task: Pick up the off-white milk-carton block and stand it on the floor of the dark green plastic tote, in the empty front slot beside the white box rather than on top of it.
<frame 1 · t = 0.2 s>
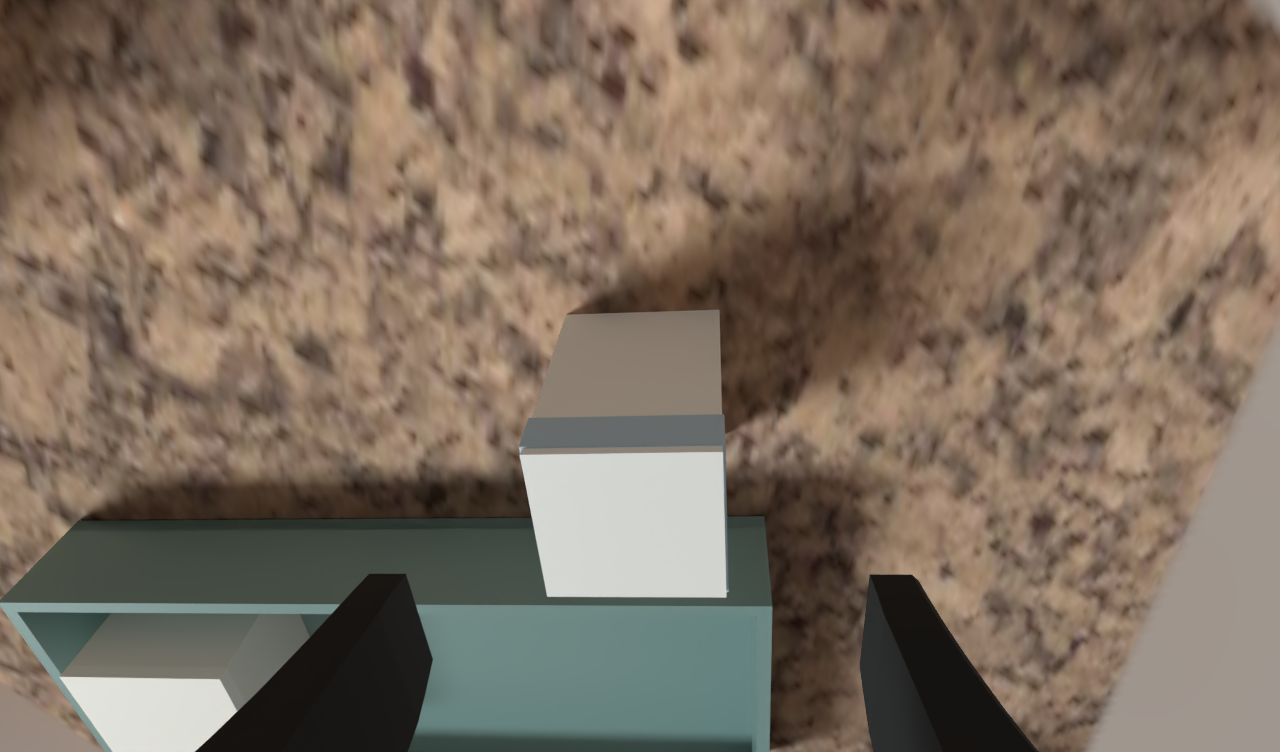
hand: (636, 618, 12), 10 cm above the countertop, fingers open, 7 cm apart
milk carton: (647, 377, 22), on the countertop
white box: (251, 655, 28), resting on tote
tote: (444, 645, 28), on the countertop
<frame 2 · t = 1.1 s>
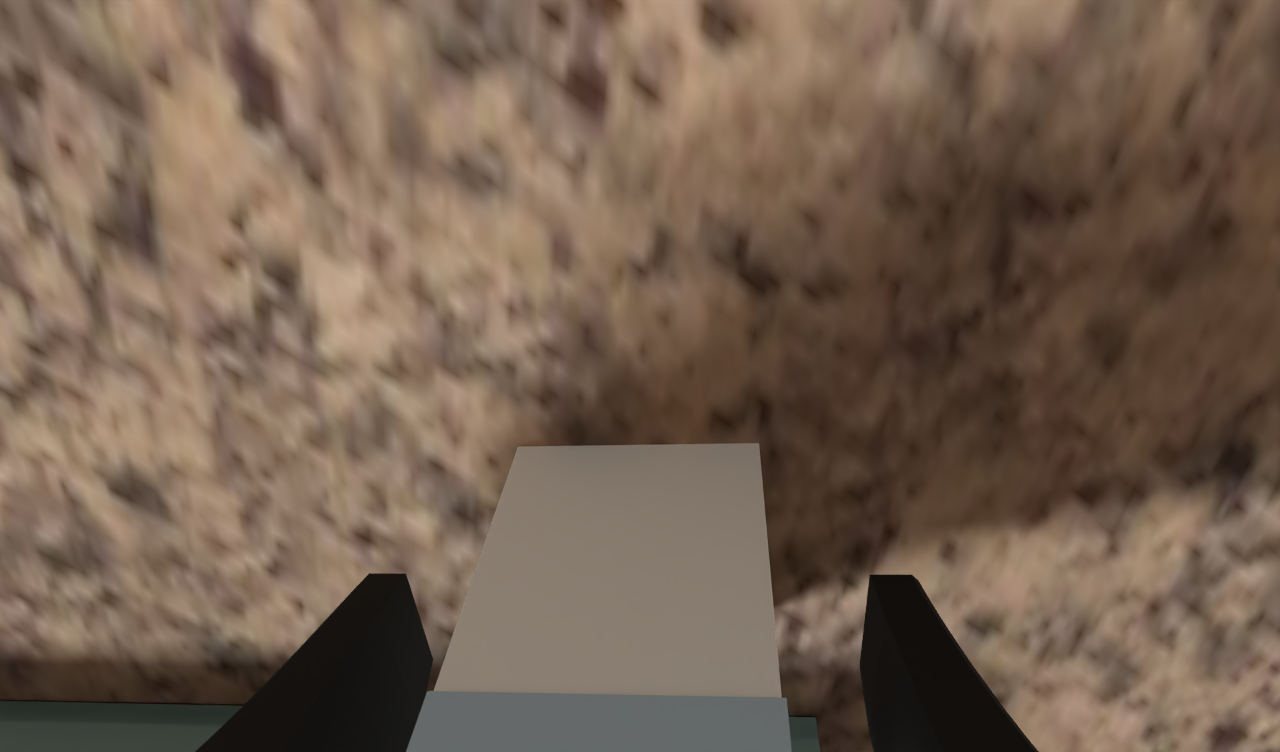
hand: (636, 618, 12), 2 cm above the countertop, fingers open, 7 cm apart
milk carton: (644, 535, 14), on the countertop
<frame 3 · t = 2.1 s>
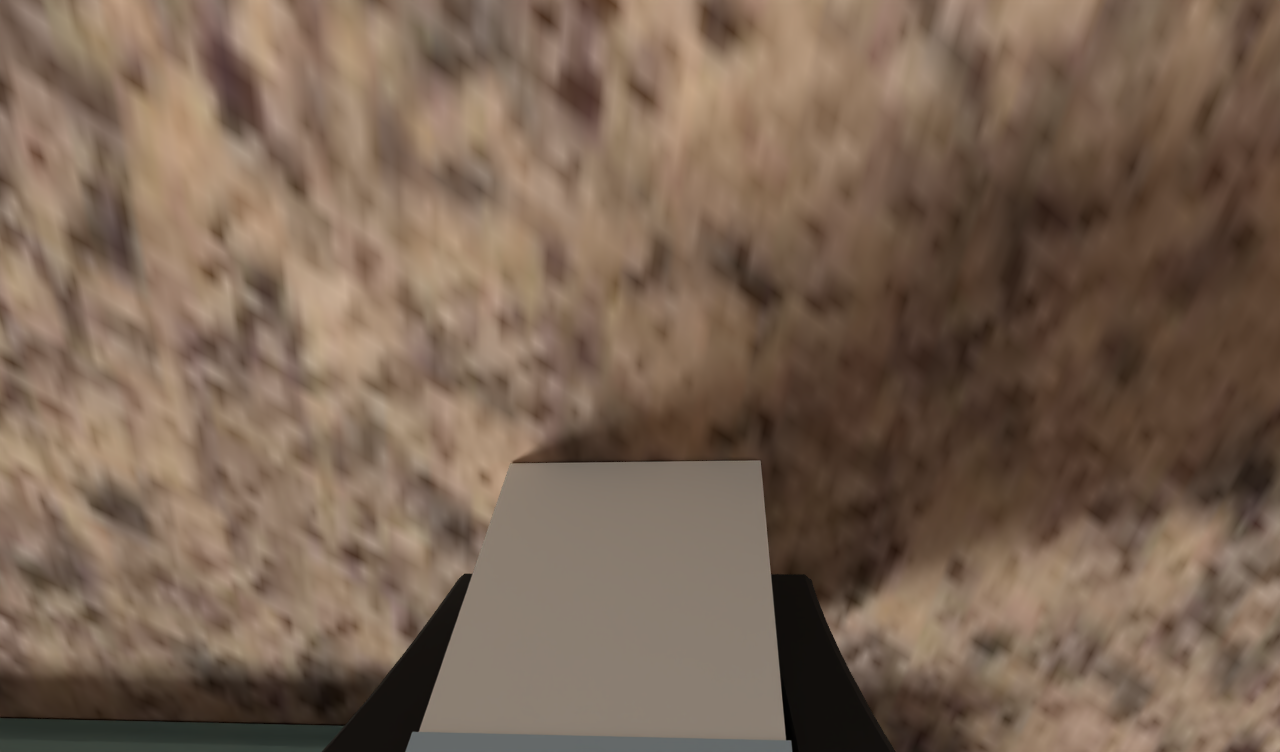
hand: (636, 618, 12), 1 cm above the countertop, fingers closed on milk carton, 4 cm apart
milk carton: (642, 553, 14), on the countertop, touching gripper
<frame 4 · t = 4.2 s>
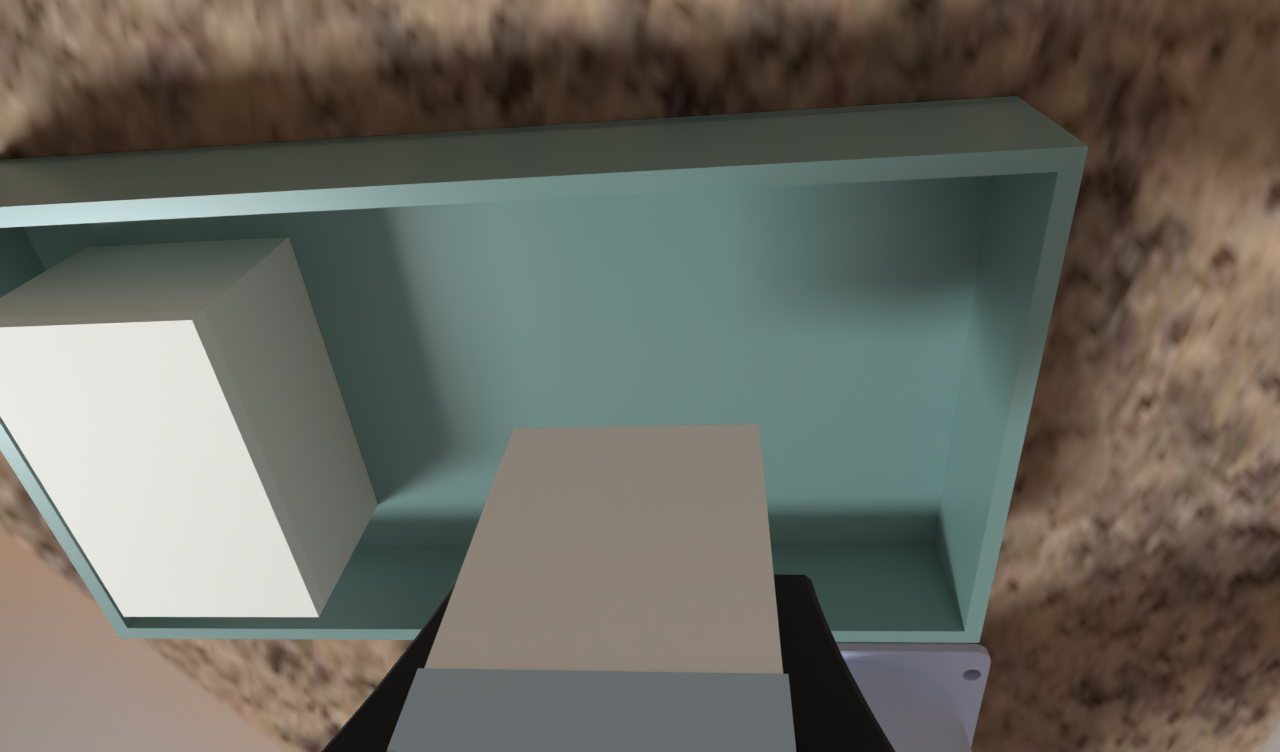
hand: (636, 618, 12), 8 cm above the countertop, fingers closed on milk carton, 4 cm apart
milk carton: (642, 520, 14), point 6 cm above the countertop, touching gripper
white box: (245, 387, 20), resting on tote
tote: (515, 369, 20), on the countertop
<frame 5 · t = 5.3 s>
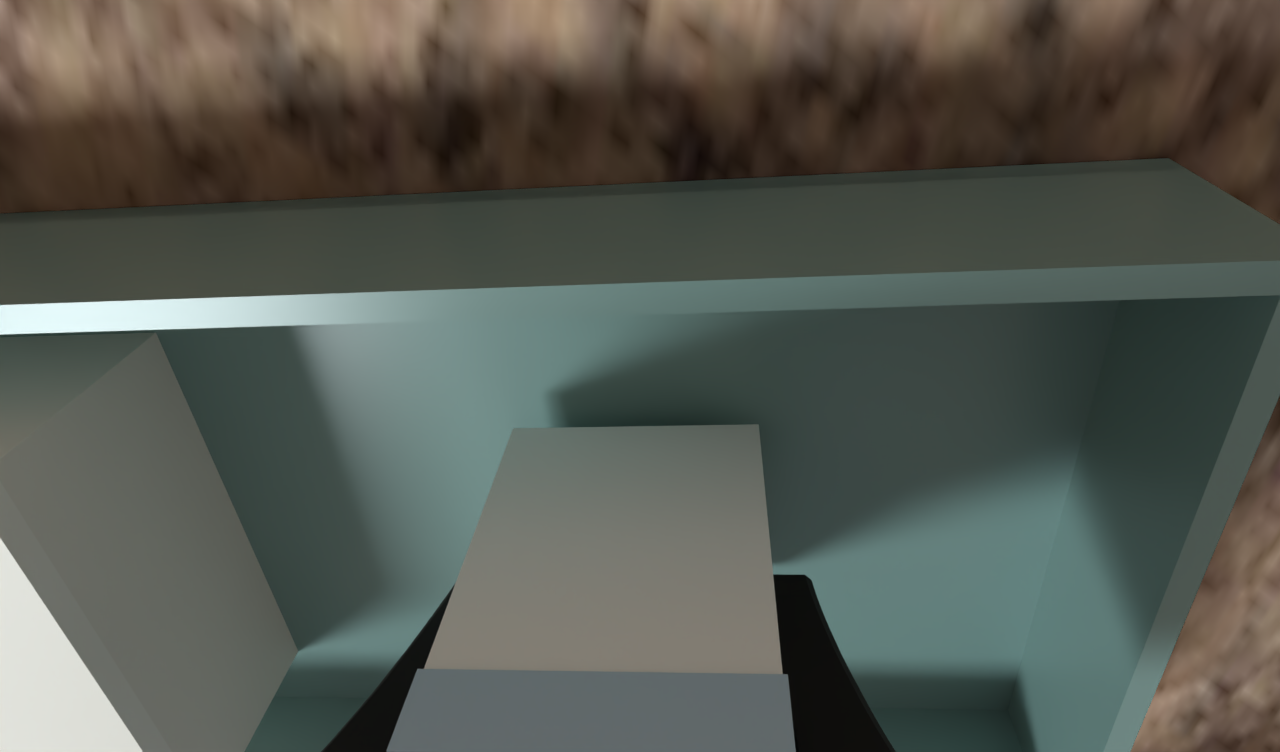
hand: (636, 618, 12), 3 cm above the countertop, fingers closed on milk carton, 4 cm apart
milk carton: (642, 520, 14), point 1 cm above the countertop, touching gripper
white box: (117, 514, 16), resting on tote
tote: (468, 494, 15), on the countertop
when the fingers open (3 cm above the countertop, at t = 6.1 s): milk carton stays where it is, resting on tote.
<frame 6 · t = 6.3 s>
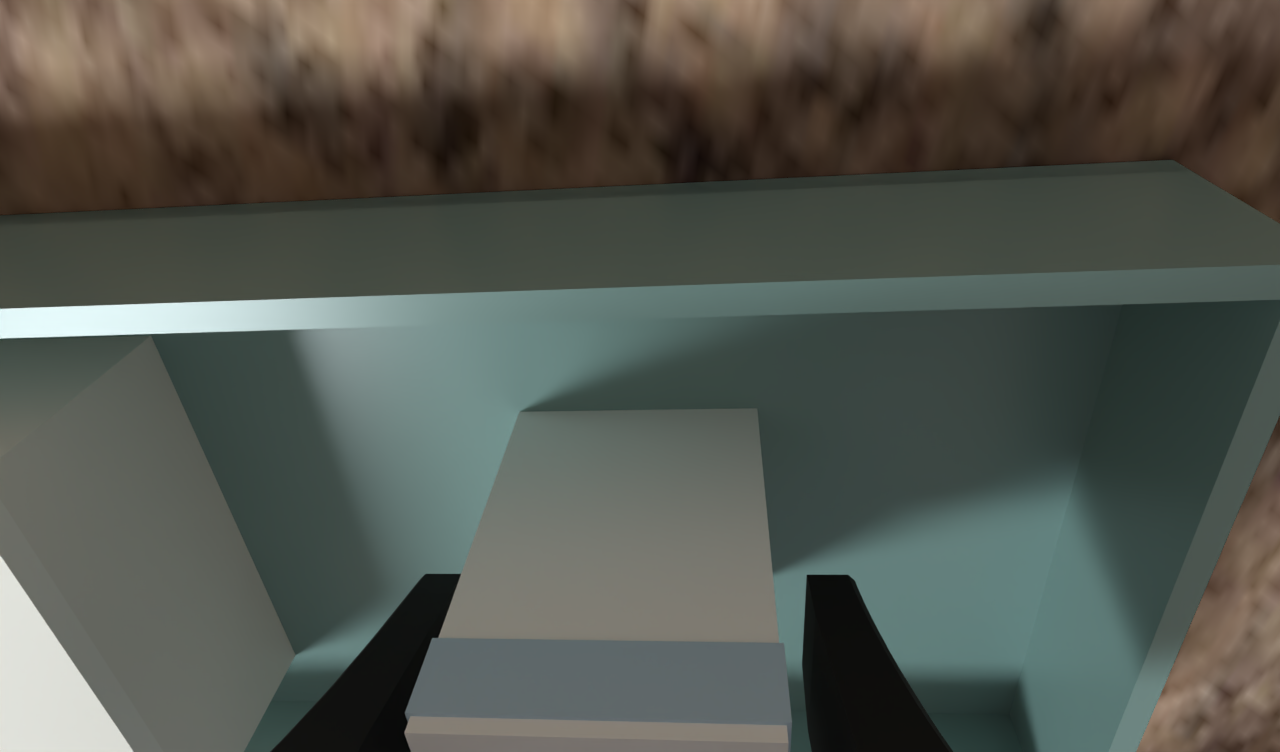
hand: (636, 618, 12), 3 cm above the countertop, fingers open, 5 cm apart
milk carton: (644, 501, 14), point 1 cm above the countertop, touching tote
white box: (112, 517, 15), resting on tote
tote: (466, 498, 15), on the countertop
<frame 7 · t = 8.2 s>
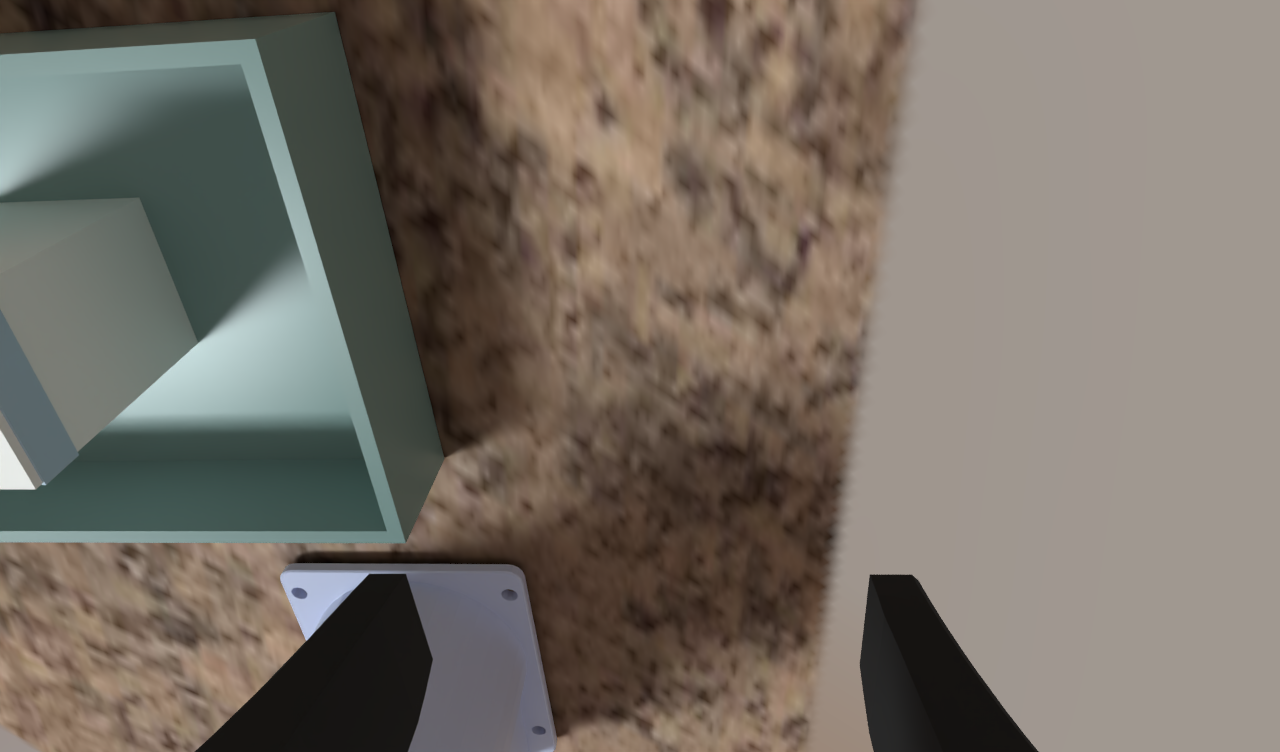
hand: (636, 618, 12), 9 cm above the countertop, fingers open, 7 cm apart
milk carton: (96, 276, 20), resting on tote
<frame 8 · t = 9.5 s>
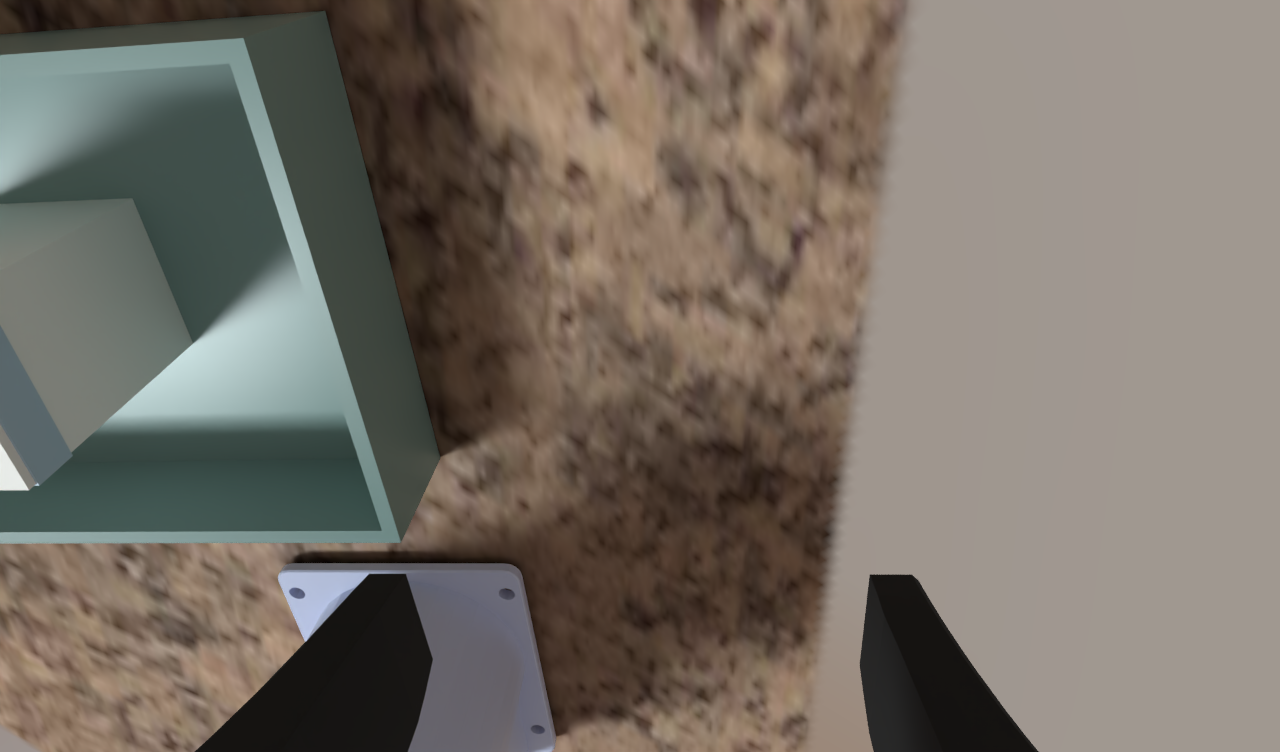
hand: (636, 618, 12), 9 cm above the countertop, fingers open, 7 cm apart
milk carton: (90, 277, 20), resting on tote
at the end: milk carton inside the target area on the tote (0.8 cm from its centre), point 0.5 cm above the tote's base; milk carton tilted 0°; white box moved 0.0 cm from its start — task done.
